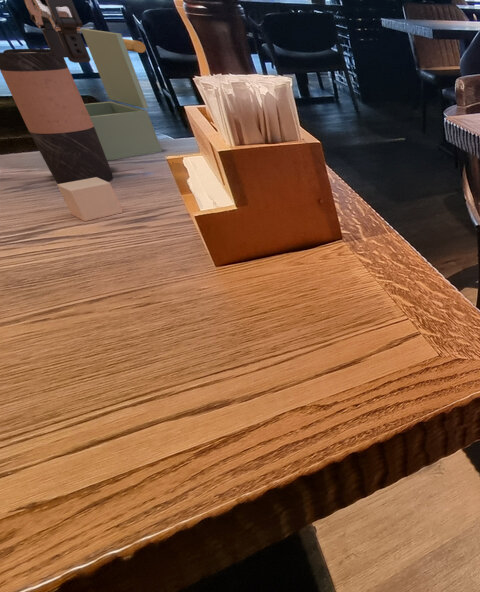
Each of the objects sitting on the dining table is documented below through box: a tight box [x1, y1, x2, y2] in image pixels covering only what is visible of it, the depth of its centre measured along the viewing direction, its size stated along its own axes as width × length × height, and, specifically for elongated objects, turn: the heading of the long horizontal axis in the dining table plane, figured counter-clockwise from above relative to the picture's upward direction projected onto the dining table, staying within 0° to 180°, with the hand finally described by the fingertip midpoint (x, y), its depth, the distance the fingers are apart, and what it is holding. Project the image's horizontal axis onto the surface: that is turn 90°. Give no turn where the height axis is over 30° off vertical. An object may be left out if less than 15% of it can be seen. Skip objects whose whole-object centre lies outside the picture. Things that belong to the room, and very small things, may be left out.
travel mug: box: [0, 48, 114, 185], centre depth 83 cm, size 8×8×20 cm
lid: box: [81, 28, 149, 109], centre depth 99 cm, size 12×15×5 cm
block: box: [56, 177, 123, 222], centre depth 75 cm, size 4×4×4 cm
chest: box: [84, 100, 163, 161], centre depth 98 cm, size 12×15×9 cm
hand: (72, 59), depth 75 cm, fingers open, 8 cm apart
